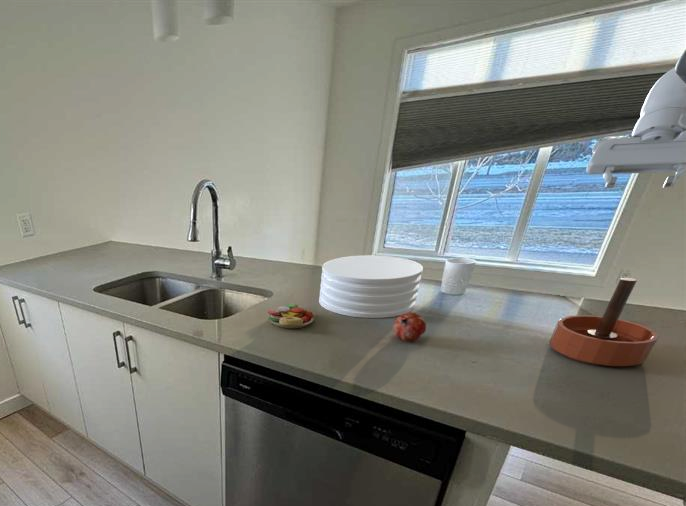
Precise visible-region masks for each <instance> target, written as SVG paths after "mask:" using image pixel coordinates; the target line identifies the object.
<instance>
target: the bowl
mask: <svg viewBox="0 0 686 506" xmlns="http://www.w3.org/2000/svg"><path fill="white" fill-rule="evenodd" d="M602 316H603V315H602ZM602 316H601V315H587V314H583V315H582V314H577V315H567V316H565V317H561V318H560V319H559V320H557V323H556V325H555V327H554V329H553V332H552V334H551V336H550V339H549V346H550V347H551V348H552V349H553V350H554V351H556V352H558V353H560V354H562V355H563V356H565V357H567V358H570V359H572V360H576V361H579V362H581V363H582V362H583V363H586V364H590V365H597V366H605V367H629V366H630V367H631V366H637V365H641V364H643V363H645V361H646V360H647V359H648V357H649V355H650V354H651V351H652V350H653V348H654V346H655V344H656V343H657V341H658V339H659V338H660V337H659V334H658V332H656V331H654V330H653V329H652V328H650V327H648V326H645V325H642V324H640V323H636V322H633V321H629V320H626V319H621V318H618V320H617V322H616V324H615V326H614V328H613V330H612V332H613V333H615V334H617V335H618V337H617V339H616V341H611V340H603V339H598V338H594V337H589V336H586V333H587V331H588V330H591V329H597V327H598V325H599V323H600V321H601V319H602Z"/></svg>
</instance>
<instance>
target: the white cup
mask: <svg viewBox="0 0 686 506" xmlns="http://www.w3.org/2000/svg"><path fill="white" fill-rule="evenodd" d="M476 263H477V261H476V260H475V259H473V258H467V257H449V258H447V259H445V262H444V267H443V273H442V278H441V284H440V285H441V286H440V292H441V293H443V294H446V295H451V296H458V295H459V296H460V295H464V294H465V293H466V290H467V288H468V285H469V283H470V280H471V278H472V274H473V272H474V269H475V266H476Z"/></svg>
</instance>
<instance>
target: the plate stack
mask: <svg viewBox="0 0 686 506" xmlns="http://www.w3.org/2000/svg"><path fill="white" fill-rule="evenodd" d="M423 271H424V267H423V265H422V264H421V263H419V262H418V261H417V262H416V261H414V260H411V259H409V258H404V257H398V256H390V255H376V254H375V255H372V254H369V255H367V254H365V255H364V254H363V255H349V256H343V257H336V258H332V259H330V260H327V261H326V262H324V263H323V264H322V266H321V275H320V276H321V281H320V289H319V298H318V303H319V305H320V306H321V307H322V308H323V309H325V310H327V311H329V312H332V313H333V314H337V315H343V316H347V317H352V318H363V319H382V318H383V319H384V318H392V317H399V316H402V315H404V314H406V313H409V312H412V311H413V310H414V309H415V306H416V300H417V297H418V292H419V289H420V284H421V280H422V274H423Z"/></svg>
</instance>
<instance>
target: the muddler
mask: <svg viewBox="0 0 686 506" xmlns="http://www.w3.org/2000/svg"><path fill="white" fill-rule="evenodd" d="M637 282H638V279H637V278H634V277H621V278H619V281H618V283H617V285H616V287H615V289H614V292H613V293H612V296H611V298H610V300H609V302H608V304H607V306H606V307H605V310H604V312H603V315H602V319H601V321H600V323H599V325H598V327H597V329H591V330H588V331H587V333H586V336H589V337H594V338H598V339H603V340H611V341H616V339H617V337H618V335H617V334H615V333H613V332H612V330H613V328H614V326H615V324H616V322H617V320H618V319H620V316H621V314H622V312H623V309H624V308H625V306H626V304H627V302H628V300H629V298H630V296H631V294H632V292H633V290H634V289H635V286H636V284H637Z"/></svg>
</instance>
